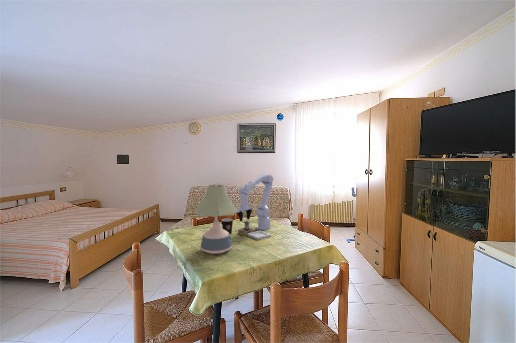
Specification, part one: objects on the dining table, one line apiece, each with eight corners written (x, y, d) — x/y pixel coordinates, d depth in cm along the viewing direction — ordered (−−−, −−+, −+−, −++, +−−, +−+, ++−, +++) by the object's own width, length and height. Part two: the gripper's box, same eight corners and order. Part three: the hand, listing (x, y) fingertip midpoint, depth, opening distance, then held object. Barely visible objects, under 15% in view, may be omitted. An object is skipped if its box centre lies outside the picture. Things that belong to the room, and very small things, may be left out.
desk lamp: (195, 261, 135) (195, 186, 133) (194, 244, 163) (193, 181, 160) (241, 256, 143) (241, 185, 140) (232, 240, 170) (232, 180, 168)
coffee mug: (234, 231, 192) (234, 218, 191) (231, 234, 183) (231, 221, 183) (219, 230, 193) (219, 218, 192) (216, 234, 184) (216, 221, 184)
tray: (260, 232, 189) (260, 230, 189) (270, 236, 179) (270, 234, 179) (247, 235, 181) (247, 233, 181) (257, 240, 172) (257, 237, 172)
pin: (247, 232, 190) (247, 220, 189) (250, 233, 187) (250, 221, 186) (243, 233, 187) (243, 221, 187) (246, 234, 184) (246, 222, 184)
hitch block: (248, 230, 193) (248, 226, 193) (255, 233, 187) (255, 229, 187) (238, 233, 187) (238, 229, 187) (244, 235, 181) (244, 231, 181)
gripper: (247, 200, 193) (247, 217, 194) (233, 203, 182) (233, 221, 183) (254, 201, 189) (254, 219, 189) (240, 204, 178) (240, 222, 178)
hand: (244, 220), depth 186 cm, fingers open, 7 cm apart
